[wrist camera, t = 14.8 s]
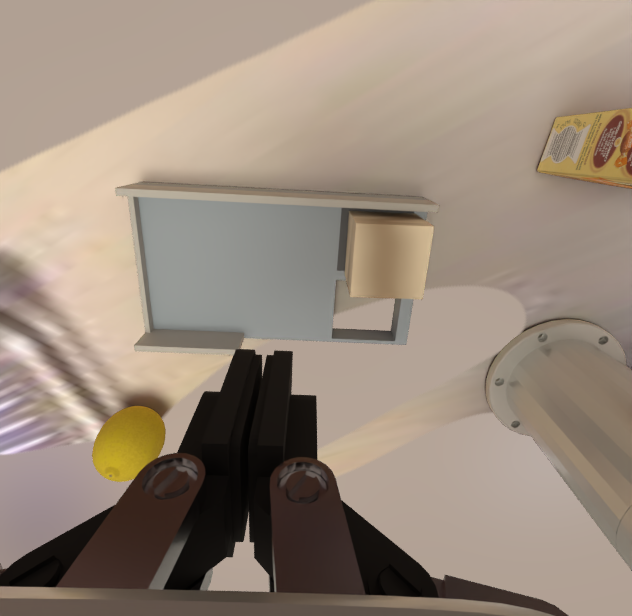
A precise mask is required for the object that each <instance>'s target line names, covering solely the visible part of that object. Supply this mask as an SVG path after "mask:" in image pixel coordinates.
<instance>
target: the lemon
mask: <svg viewBox="0 0 632 616" xmlns="http://www.w3.org/2000/svg"><path fill="white" fill-rule="evenodd" d="M164 441H165V426H164V422H163V420H162V419H161V417H160V416H159V415H158V413H157V412H155V411H154V410H152V409H150V408H148V407H143V406H132V407H128V408H125V409H123V410H121V411H119V412H117V413H115V414H114V415H113V416H112V417H111V418H110V419H109V420H107V422H106V423H105V424H104V425H103V427H102V428H101V430H100V432H99V433H98V435H97V437H96V440H95V443H94V447H93V453H92V457H93V463H94V466H95V467H96V470H97V471H98V472H99V473H100V474H101V475H102V476H103V477H105V478H107V479H109V480H112V481H117V482H122V481H129V480H132V479H135V477H136V476H137V474H138V473H139V472H140V471H141V470H142V469H143V468H144V467H145V466H146V465H147V464H148V463H150V462H151V461H153V460H154V459H156V458H158V456H159V454H160V452H161V450H162V448H163V445H164Z"/></svg>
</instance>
